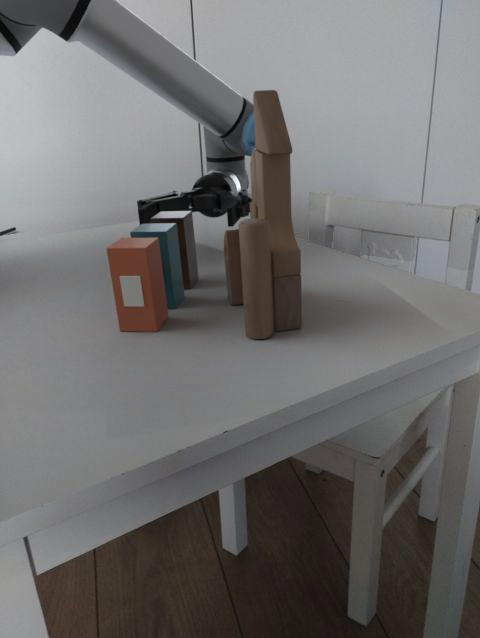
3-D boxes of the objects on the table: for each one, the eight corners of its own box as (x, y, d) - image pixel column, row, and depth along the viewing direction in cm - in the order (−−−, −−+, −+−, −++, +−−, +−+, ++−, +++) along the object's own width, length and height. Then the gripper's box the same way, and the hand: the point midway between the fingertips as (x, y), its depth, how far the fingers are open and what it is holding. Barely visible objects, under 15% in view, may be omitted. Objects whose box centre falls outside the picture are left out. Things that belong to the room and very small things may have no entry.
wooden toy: (224, 297, 76) (209, 92, 66) (273, 291, 78) (265, 89, 67) (248, 342, 63) (233, 92, 52) (307, 334, 64) (303, 88, 53)
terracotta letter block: (133, 316, 71) (121, 237, 67) (168, 317, 71) (158, 237, 66) (119, 331, 67) (105, 248, 63) (156, 332, 66) (145, 248, 62)
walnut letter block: (168, 278, 85) (160, 211, 81) (198, 279, 84) (192, 210, 80) (158, 289, 81) (149, 218, 76) (190, 289, 80) (183, 218, 76)
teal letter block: (152, 296, 78) (142, 223, 74) (184, 296, 77) (176, 223, 73) (140, 309, 74) (129, 232, 69) (175, 309, 73) (165, 231, 69)
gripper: (285, 212, 103) (269, 242, 84) (153, 214, 107) (109, 243, 88) (283, 169, 100) (267, 190, 81) (148, 173, 104) (101, 193, 85)
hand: (185, 218), depth 85 cm, fingers open, 13 cm apart
